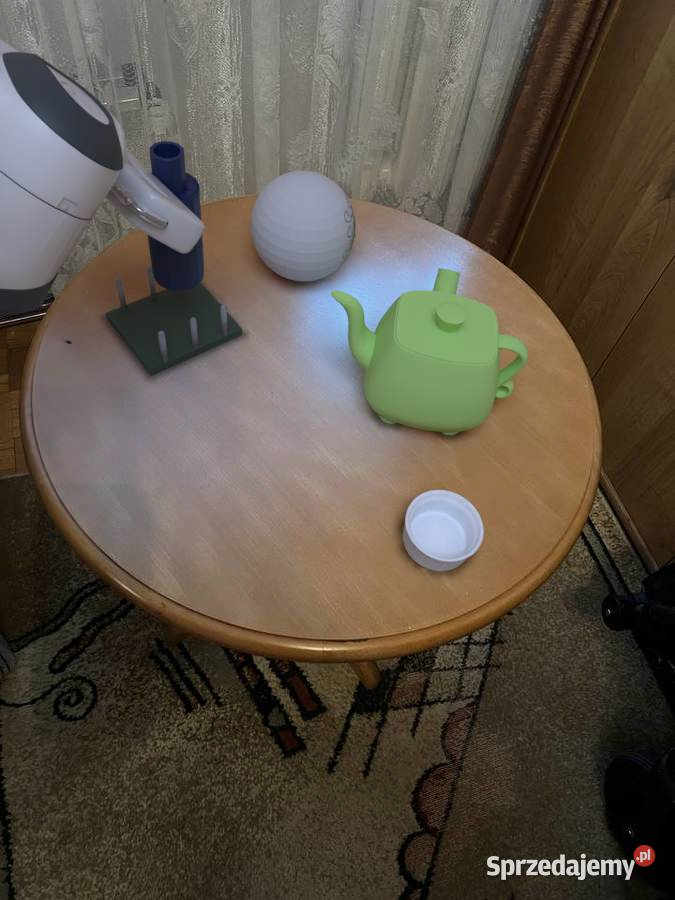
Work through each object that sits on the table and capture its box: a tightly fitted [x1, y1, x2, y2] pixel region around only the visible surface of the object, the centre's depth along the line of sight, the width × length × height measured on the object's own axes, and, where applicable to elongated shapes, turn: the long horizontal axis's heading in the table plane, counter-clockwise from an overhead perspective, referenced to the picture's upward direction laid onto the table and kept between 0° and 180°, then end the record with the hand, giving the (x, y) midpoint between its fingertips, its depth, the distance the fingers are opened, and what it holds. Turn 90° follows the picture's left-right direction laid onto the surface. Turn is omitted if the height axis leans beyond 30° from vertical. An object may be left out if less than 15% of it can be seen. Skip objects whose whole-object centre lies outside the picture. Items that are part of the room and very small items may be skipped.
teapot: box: [330, 267, 529, 436], centre depth 83 cm, size 25×22×16 cm
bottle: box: [146, 140, 205, 291], centre depth 72 cm, size 6×6×16 cm
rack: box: [105, 265, 243, 377], centre depth 87 cm, size 14×12×6 cm
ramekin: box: [402, 489, 485, 572], centre depth 74 cm, size 9×9×4 cm
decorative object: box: [250, 169, 357, 282], centre depth 93 cm, size 15×15×15 cm
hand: (177, 208), depth 72 cm, fingers closed on bottle, 6 cm apart
